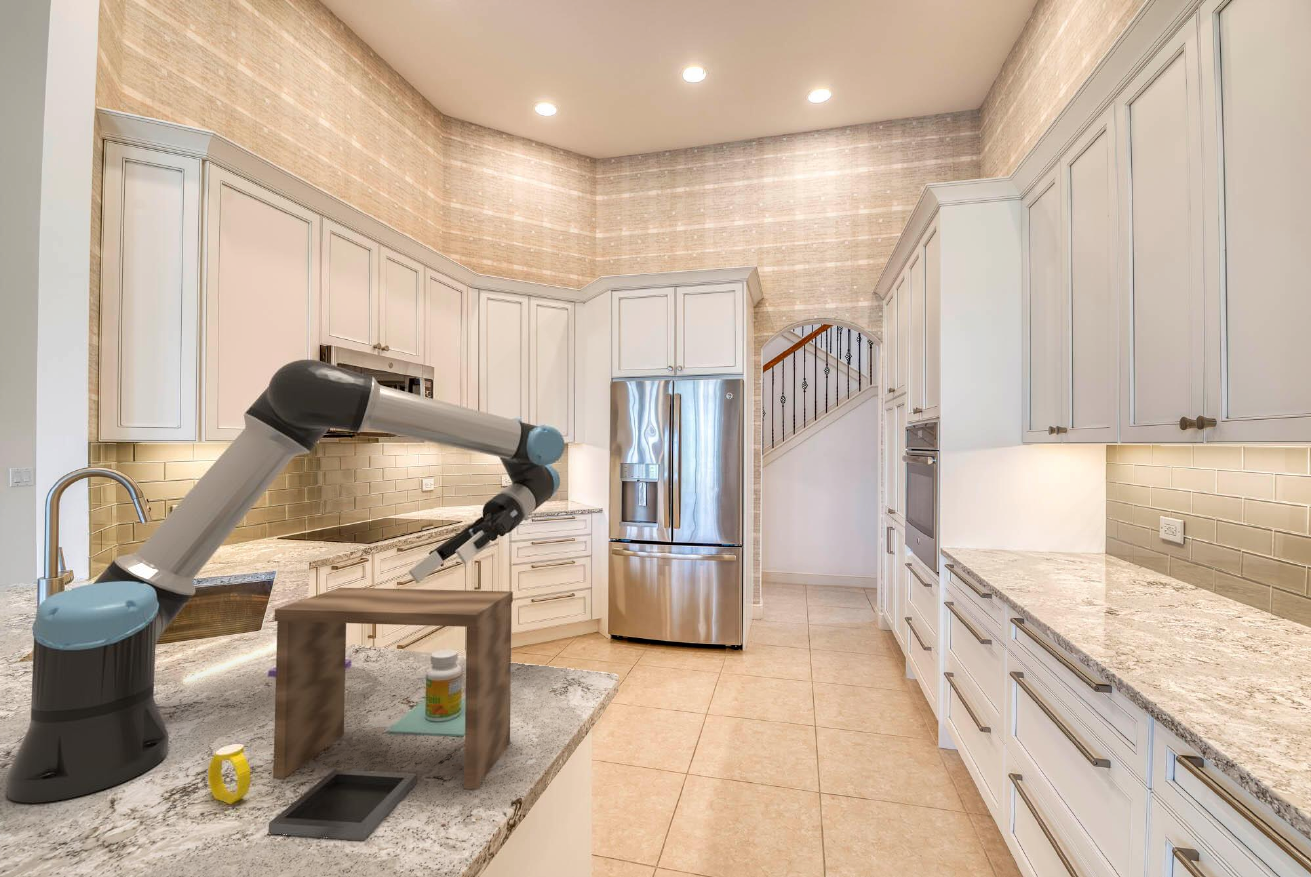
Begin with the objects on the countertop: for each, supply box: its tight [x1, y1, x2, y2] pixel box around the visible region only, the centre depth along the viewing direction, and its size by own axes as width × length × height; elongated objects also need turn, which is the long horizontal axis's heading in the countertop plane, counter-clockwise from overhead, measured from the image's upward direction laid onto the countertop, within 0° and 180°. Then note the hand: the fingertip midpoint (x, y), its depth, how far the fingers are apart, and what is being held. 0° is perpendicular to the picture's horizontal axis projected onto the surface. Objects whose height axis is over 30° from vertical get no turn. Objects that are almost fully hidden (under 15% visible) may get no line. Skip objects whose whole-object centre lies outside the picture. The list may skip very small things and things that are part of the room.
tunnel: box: [272, 587, 514, 791], centre depth 79 cm, size 13×27×22 cm, turn 84°
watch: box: [207, 743, 252, 805], centre depth 69 cm, size 6×3×6 cm, turn 67°
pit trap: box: [267, 769, 418, 842], centre depth 67 cm, size 11×11×1 cm
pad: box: [385, 698, 466, 738], centre depth 91 cm, size 12×12×1 cm
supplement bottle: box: [425, 648, 463, 722], centre depth 92 cm, size 5×5×10 cm
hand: (436, 567), depth 99 cm, fingers open, 13 cm apart
